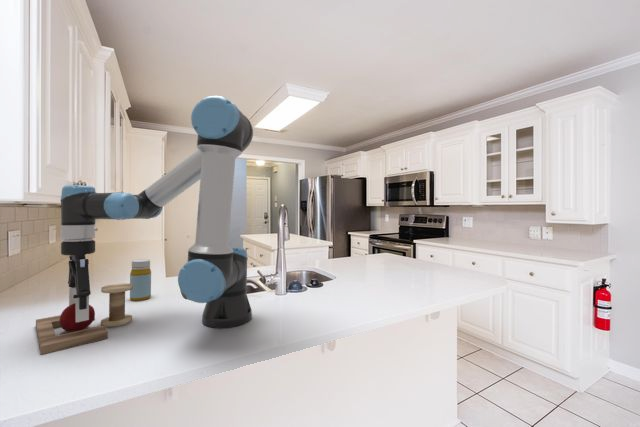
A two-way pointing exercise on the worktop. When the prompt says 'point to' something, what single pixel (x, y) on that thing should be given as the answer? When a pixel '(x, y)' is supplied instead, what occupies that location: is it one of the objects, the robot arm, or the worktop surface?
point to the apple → (70, 322)
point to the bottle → (140, 280)
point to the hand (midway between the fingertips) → (78, 314)
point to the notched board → (65, 335)
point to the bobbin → (116, 305)
